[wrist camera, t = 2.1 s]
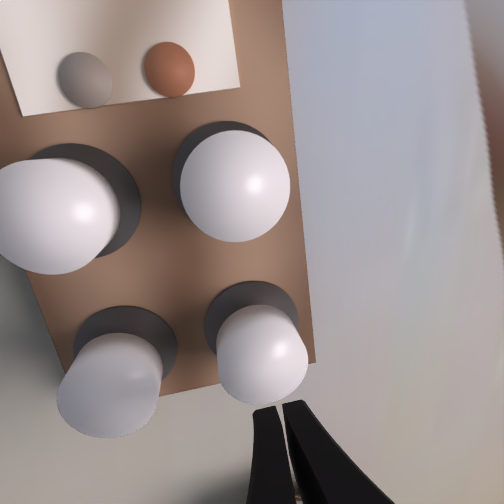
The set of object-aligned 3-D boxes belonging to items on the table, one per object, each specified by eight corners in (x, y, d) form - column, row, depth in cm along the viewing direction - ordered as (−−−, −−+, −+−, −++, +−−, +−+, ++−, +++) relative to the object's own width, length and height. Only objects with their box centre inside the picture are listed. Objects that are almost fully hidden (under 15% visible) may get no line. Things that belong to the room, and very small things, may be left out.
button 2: (89, 412, 15) (74, 447, 13) (62, 342, 13) (42, 370, 12) (170, 394, 15) (167, 426, 13) (151, 324, 14) (145, 350, 12)
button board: (93, 385, 18) (78, 419, 16) (-59, -35, 12) (-118, -77, 10) (304, 341, 19) (318, 366, 17) (262, -64, 13) (274, -107, 11)
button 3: (193, 237, 13) (192, 250, 11) (173, 140, 12) (168, 139, 10) (283, 221, 13) (295, 232, 11) (272, 126, 12) (283, 122, 10)
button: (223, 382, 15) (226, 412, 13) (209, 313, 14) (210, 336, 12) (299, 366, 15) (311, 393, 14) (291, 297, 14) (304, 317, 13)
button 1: (33, 265, 12) (6, 284, 11) (-5, 166, 11) (-42, 169, 9) (131, 248, 13) (120, 263, 11) (104, 150, 11) (87, 151, 10)
